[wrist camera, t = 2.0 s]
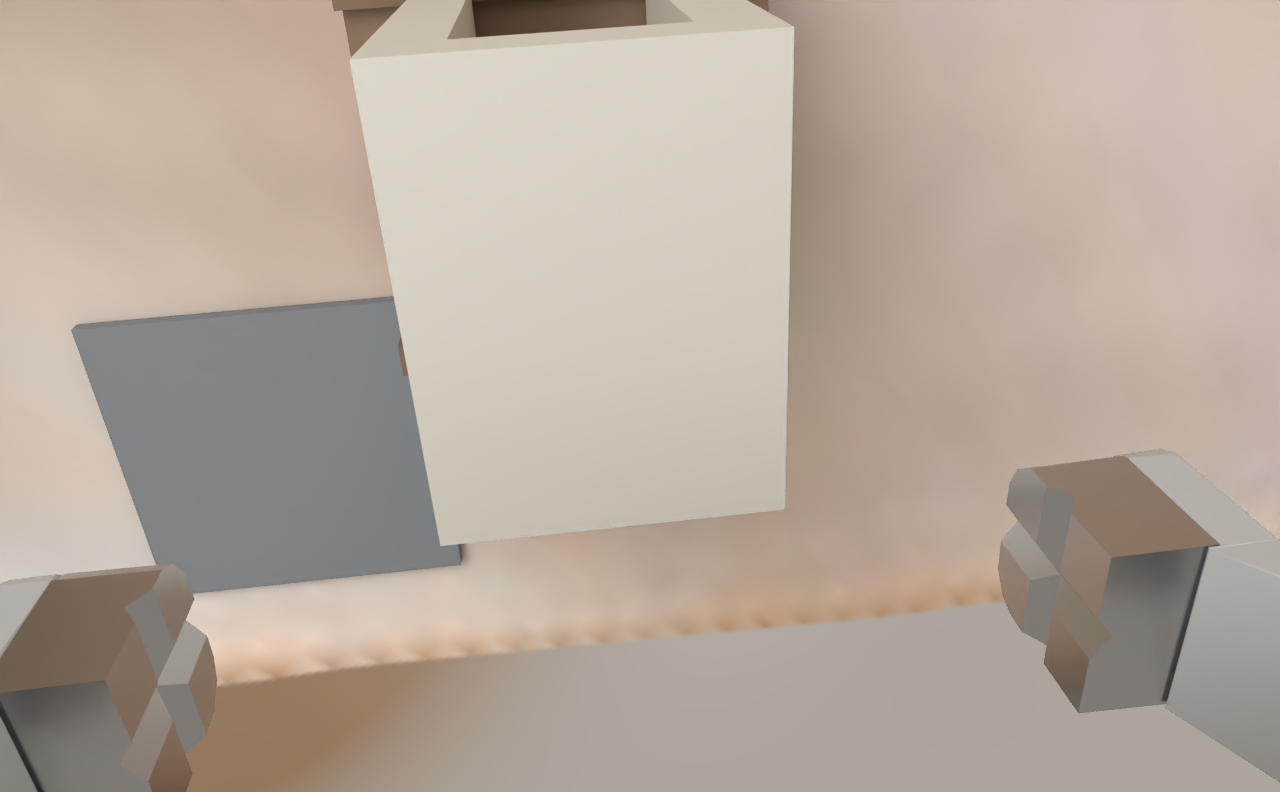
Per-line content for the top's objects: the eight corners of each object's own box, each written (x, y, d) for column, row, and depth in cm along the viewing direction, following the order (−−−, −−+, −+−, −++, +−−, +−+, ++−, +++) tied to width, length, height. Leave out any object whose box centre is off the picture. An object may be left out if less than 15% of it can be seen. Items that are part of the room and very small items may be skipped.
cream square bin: (701, -25, 20) (793, 27, 13) (709, 325, 24) (784, 509, 17) (411, -5, 20) (349, 59, 13) (465, 347, 24) (440, 546, 17)
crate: (722, -76, 26) (777, -62, 20) (726, 254, 30) (773, 341, 25) (370, -53, 25) (325, -32, 20) (426, 281, 30) (403, 376, 24)
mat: (415, 294, 30) (414, 299, 29) (461, 557, 34) (460, 564, 34) (76, 324, 29) (71, 329, 29) (171, 588, 34) (167, 596, 33)
